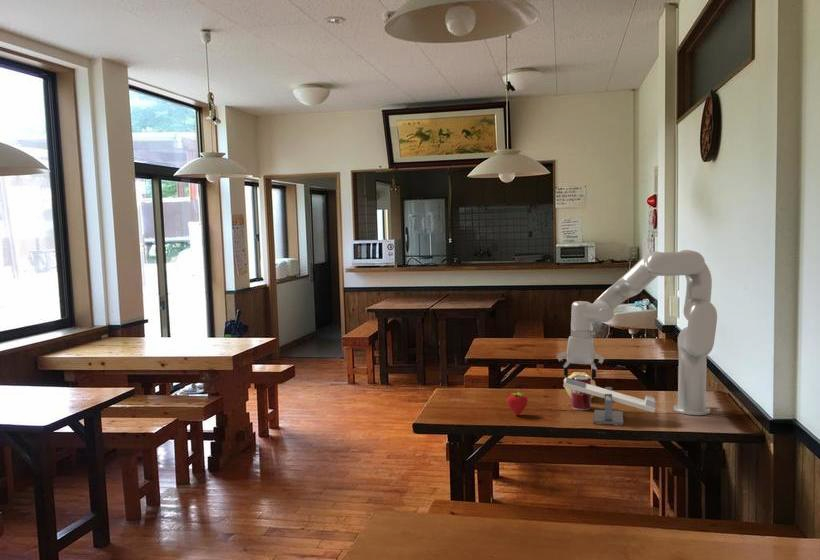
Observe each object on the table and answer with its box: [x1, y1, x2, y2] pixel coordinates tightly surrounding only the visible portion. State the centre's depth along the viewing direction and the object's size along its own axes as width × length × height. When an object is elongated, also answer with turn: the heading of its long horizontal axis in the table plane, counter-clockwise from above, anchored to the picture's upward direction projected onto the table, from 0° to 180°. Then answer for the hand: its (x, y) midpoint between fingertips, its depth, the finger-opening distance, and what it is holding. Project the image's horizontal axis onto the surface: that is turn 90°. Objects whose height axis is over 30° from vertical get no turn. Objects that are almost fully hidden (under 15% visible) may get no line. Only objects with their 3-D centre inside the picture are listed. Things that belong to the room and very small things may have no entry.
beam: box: [562, 377, 657, 414], centre depth 242 cm, size 32×8×4 cm, turn 74°
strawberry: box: [506, 388, 528, 416], centre depth 250 cm, size 6×8×10 cm
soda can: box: [571, 375, 592, 411], centre depth 257 cm, size 7×7×12 cm
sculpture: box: [563, 371, 597, 399], centre depth 271 cm, size 11×12×11 cm
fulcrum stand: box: [593, 386, 624, 426], centre depth 242 cm, size 10×14×10 cm
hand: (579, 378), depth 257 cm, fingers open, 9 cm apart
